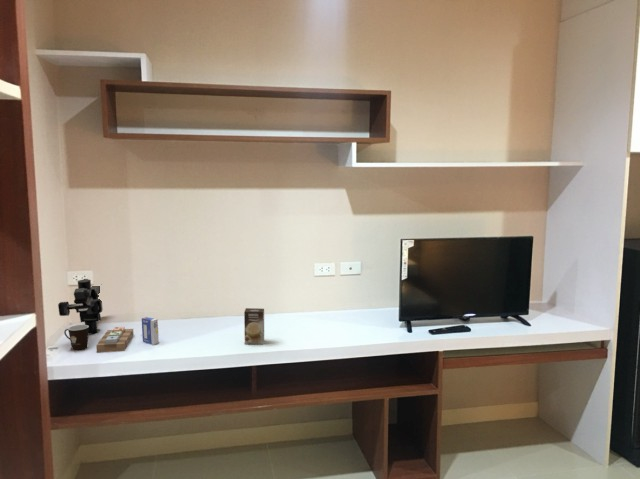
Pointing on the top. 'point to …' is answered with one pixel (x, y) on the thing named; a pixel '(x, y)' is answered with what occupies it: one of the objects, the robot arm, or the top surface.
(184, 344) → the top surface
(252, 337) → the coffee box
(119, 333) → the three-pip button
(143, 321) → the walkman
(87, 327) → the coffee mug
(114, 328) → the two-pip button
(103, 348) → the button board
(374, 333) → the top surface
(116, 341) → the one-pip button
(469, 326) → the top surface
